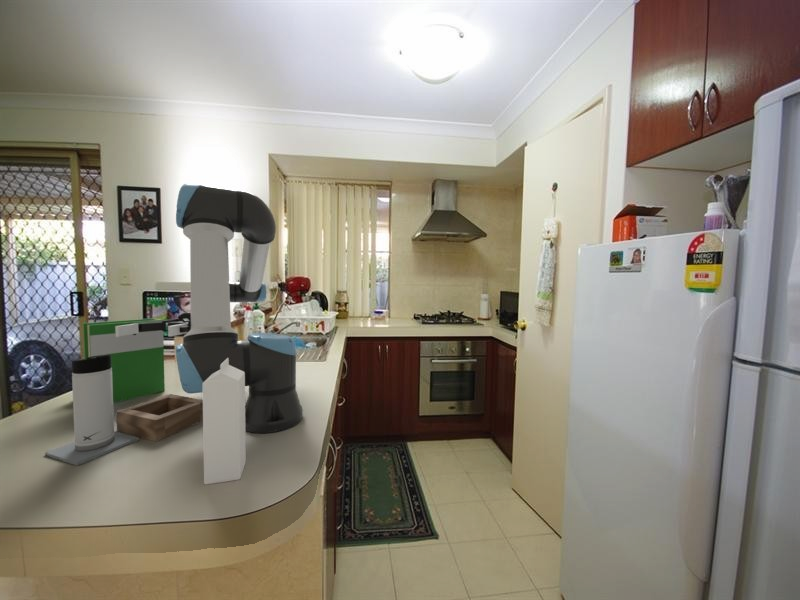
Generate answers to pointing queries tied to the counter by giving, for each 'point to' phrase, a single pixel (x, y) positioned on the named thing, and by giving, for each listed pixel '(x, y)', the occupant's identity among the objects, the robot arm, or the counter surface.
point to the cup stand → (160, 417)
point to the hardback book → (128, 357)
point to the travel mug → (93, 402)
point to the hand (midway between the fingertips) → (143, 331)
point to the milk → (224, 424)
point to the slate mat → (79, 457)
